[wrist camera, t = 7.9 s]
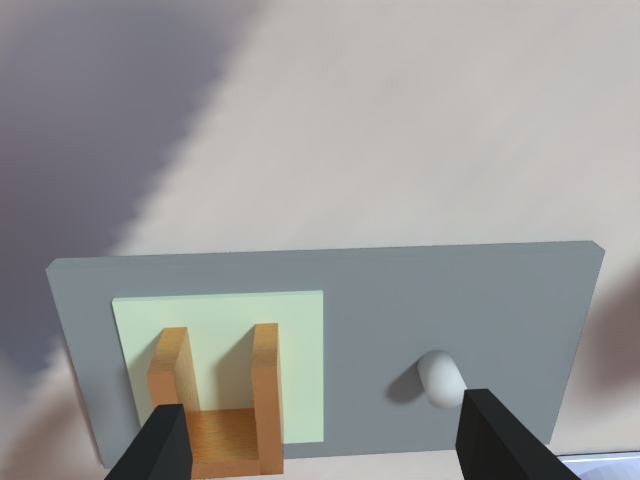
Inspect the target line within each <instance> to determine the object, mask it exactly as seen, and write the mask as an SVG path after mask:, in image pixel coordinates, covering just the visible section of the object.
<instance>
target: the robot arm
mask: <svg viewBox="0 0 640 480" xmlns="http://www.w3.org/2000/svg"><path fill="white" fill-rule="evenodd" d="M455 448H456V451H457V455H458V459H459V462H460V466H461V470H462V473H463V476H464V480H640V452H628V453H610V454H593V455H576V456H560V457H556V456H555V455H554V454H553V453H552V452H551V451H550V450H549V449H548V448H547V447H546V446H544V445H543V444H542V443H541V442H540V441H539V440H538V439H537V438H536V437H535V436H534V435H533V434H532V433H531V432H530V431H529V430H528V429H527V428H526V427H525V426H524V425H523V424H522V423H521V422H520V421H519V420H518V419H517V418H516V417H515V416H514V415H513V414H512V413H511V412H510V411H509V410H508V409H507V408H506V407H505V406H504V404H503V403H502V402H501V401H500V400H499V399H498V398H497V397H496V396H495V395H494V394H493V393H492V392H491V391H490V390H489V389H488V388H486V389H466V390H464V395H463V401H462V407H461V413H460V419H459V425H458V431H457V437H456V443H455ZM192 465H193V457H192V451H191V446H190V440H189V434H188V428H187V423H186V417H185V411H184V406H183V404H163V405H158V406H157V407H156V408H155V409H154V410H153V412H152V413H151V415H150V416H149V418H148V419H147V421H146V422H145V424H144V425H143V427H142V428H141V430H140V431H139V433H138V434H137V435H136V437H135V438H134V440H133V441H132V443H131V444H130V445H129V447H128V448H127V450H126V451H125V452H124V454H123V455H122V456H121V458H120V459H119V460H118V462H117V463H116V464H115V466H114V467H113V468H112V470H111V471H110V472H109V474H108V475H107V476H106V478H105V479H104V480H191V473H192Z"/></svg>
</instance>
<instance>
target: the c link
mask: <svg viewBox="0 0 640 480" xmlns="http://www.w3.org/2000/svg"><path fill="white" fill-rule="evenodd" d="M251 376H252V386H253V397H254V408H244V409H225V410H206V411H201V409H200V403H199V397H198V391H197V384H196V378H195V372H194V365H193V359H192V353H191V347H190V340H189V334H188V328H187V327H171V328H164V330H163V333H162V335H161V338H160V340H159V343H158V345H157V348H156V351H155V353H154V356H153V358H152V361H151V364H150V366H149V369H148V371H147V374H146V377H147V381H148V386H149V390H150V395H151V400H152V404H153V409H155V408H156V407H157V406H158V405H163V404H183V406H184V411H185V417H186V423H187V428H188V434H189V440H190V446H191V451H192V457H193V465H192V473H191V479H207V478H224V477H241V476H257V475H274V474H283V454H284V416H283V399H282V381H281V364H280V346H279V329H278V323H263V324H256V325H255V335H254V345H253V355H252V365H251Z"/></svg>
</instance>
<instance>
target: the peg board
mask: <svg viewBox="0 0 640 480" xmlns="http://www.w3.org/2000/svg"><path fill="white" fill-rule="evenodd" d="M604 254H605V250H604V249H603V248H601V247H600V246H599V245H597V244H596V243H595V242H593V241H570V242H540V243H510V244H479V245H449V246H419V247H389V248H359V249H328V250H298V251H268V252H238V253H208V254H177V255H147V256H117V257H87V258H57V259H55V260H54V261H53V262H52V263H51V265H49V266H48V267H47V269H46V270H45V271H46V274H47V277H48V281H49V284H50V288H51V291H52V294H53V298H54V301H55V304H56V308H57V311H58V314H59V318H60V321H61V325H62V328H63V331H64V335H65V338H66V341H67V345H68V348H69V352H70V355H71V358H72V362H73V365H74V368H75V372H76V375H77V378H78V382H79V385H80V389H81V392H82V395H83V399H84V402H85V405H86V409H87V412H88V415H89V419H90V422H91V426H92V429H93V432H94V436H95V439H96V442H97V446H98V449H99V452H100V456H101V459H102V463H103V466H104V469H112V468H113V467H114V466H115V464H116V463H117V462H118V460H119V459H120V458H121V456H122V455H123V454H124V452H125V451H126V450H127V448H128V447H129V445H130V444H131V443H132V441H133V440H134V438H135V437H136V435H137V434H138V433H139V431H140V430H141V428H142V427H143V425H144V424H145V422H146V421H147V419H148V418H149V416H150V415H151V413H152V412H153V410H154V409H153V404H152V400H151V395H150V390H149V386H148V381H147V377H146V374H147V371H148V369H149V366H150V364H151V361H152V358H153V356H154V353H155V351H156V348H157V345H158V343H159V340H160V338H161V335H162V333H163V330H164V328H171V327H187V328H188V334H189V340H190V347H191V353H192V359H193V365H194V372H195V378H196V384H197V391H198V397H199V403H200V409H201V411H206V410H225V409H244V408H254V397H253V386H252V376H251V365H252V355H253V345H254V335H255V325H256V324H263V323H278V329H279V346H280V364H281V381H282V399H283V416H284V454H283V459H296V458H313V457H331V456H349V455H367V454H384V453H402V452H420V451H437V450H455V449H456V448H455V443H456V437H457V431H458V425H459V419H460V413H461V407H462V401H463V395H464V390H466V389H486V388H488V389H489V390H490V391H491V392H492V393H493V394H494V395H495V396H496V397H497V398H498V399H499V400H500V401H501V402H502V403H503V404H504V406H505V407H506V408H507V409H508V410H509V411H510V412H511V413H512V414H513V415H514V416H515V417H516V418H517V419H518V420H519V421H520V422H521V423H522V424H523V425H524V426H525V427H526V428H527V429H528V430H529V431H530V432H531V433H532V434H533V435H534V436H535V437H536V438H537V439H538V440H539V441H540V442H541V443H542V444H543V445H544V444H550V440H551V437H552V433H553V430H554V426H555V423H556V419H557V416H558V413H559V409H560V406H561V402H562V399H563V395H564V392H565V388H566V385H567V381H568V378H569V375H570V371H571V368H572V364H573V361H574V357H575V354H576V350H577V347H578V344H579V340H580V337H581V333H582V330H583V326H584V323H585V319H586V316H587V312H588V309H589V306H590V302H591V299H592V295H593V292H594V288H595V285H596V281H597V278H598V275H599V271H600V268H601V264H602V261H603V257H604Z"/></svg>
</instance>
